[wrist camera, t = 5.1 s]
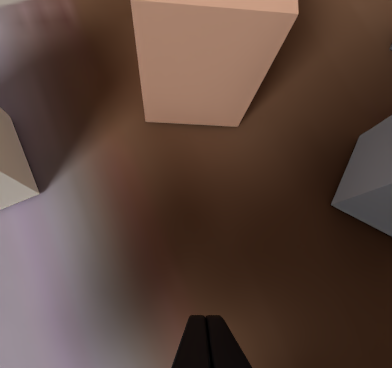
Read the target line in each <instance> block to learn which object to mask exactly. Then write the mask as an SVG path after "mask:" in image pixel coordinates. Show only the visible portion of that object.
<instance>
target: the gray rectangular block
mask: <svg viewBox="0 0 392 368" xmlns="http://www.w3.org/2000/svg"><path fill="white" fill-rule="evenodd" d="M331 205H332V206H334V207H336V208H338V209H340V210H341V211H343V212H345V213H347V214H349V215H351V216H353V217H355V218H357V219H359V220H361V221H363V222H365V223H366V224H368V225H370V226H372V227H374V228H376V229H378V230H380V231H382V232H384V233H386V234H388V235H390V236H391V237H392V115H391V116H389V117H388V118H386V119H385V120H383V121H382V122H380V123H379V124H377V125H376V126H374V127H373V128H371V129H370V130H368V131H366V132H365V133H363V134H362V135H360V136H359V138H358V141H357V143H356V146H355V148H354V150H353V153H352V155H351V158H350V160H349V162H348V165H347V167H346V170H345V172H344V174H343V177H342V179H341V182H340V184H339V186H338V189H337V191H336V194H335V196H334V198H333V201H332V203H331Z"/></svg>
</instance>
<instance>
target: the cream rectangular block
mask: <svg viewBox="0 0 392 368" xmlns="http://www.w3.org/2000/svg"><path fill="white" fill-rule="evenodd" d="M38 194H40V193H39V191H38V188H37V186H36V183H35V180H34V178H33V175H32V172H31V170H30V167H29V165H28V162H27V159H26V157H25V154H24V152H23V149H22V146H21V144H20V141H19V138H18V136H17V133H16V131H15V128H14V125H13V123H12V120H11V117H10V116H9V115H8V114H7V113H6V112H5V111H4V110H3V109H2V108H1V107H0V210H1V209H4V208H6V207H9V206H11V205H14V204H16V203H19V202H21V201H24V200H26V199H29V198H31V197H34V196H36V195H38Z"/></svg>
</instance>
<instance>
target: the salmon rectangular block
mask: <svg viewBox="0 0 392 368" xmlns="http://www.w3.org/2000/svg"><path fill="white" fill-rule="evenodd" d="M131 8H132V16H133V24H134V32H135V40H136V48H137V56H138V64H139V72H140V81H141V89H142V97H143V105H144V113H145V121H146V122H160V123H178V124H196V125H214V126H232V127H238V125H239V124H240V122H241V120H242V118H243V116H244V114H245V112H246V111H247V109H248V107H249V105H250V103H251V101H252V100H253V98H254V96H255V94H256V92H257V90H258V88H259V87H260V85H261V83H262V81H263V79H264V77H265V75H266V74H267V72H268V70H269V68H270V66H271V64H272V62H273V61H274V59H275V57H276V55H277V53H278V51H279V49H280V48H281V46H282V44H283V42H284V40H285V38H286V36H287V35H288V33H289V31H290V29H291V27H292V25H293V24H294V22H295V20H296V18H297V16H298V14H299V11H298V0H131Z"/></svg>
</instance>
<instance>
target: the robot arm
mask: <svg viewBox="0 0 392 368" xmlns="http://www.w3.org/2000/svg"><path fill="white" fill-rule="evenodd" d="M171 368H252V366H251V365H250V363H249V361H248V360H247V358H246V356H245V355H244V353H243V351H242V350H241V348H240V346H239V344H238V343H237V341H236V339H235V338H234V336H233V334H232V333H231V331H230V329H229V328H228V326H227V324H226V323H225V321H224V319H223V318H222V317H221V316H219V315H208V316H206V317H205V316H203V315H191V316H190V317H189V319H188V321H187V324H186V327H185V330H184V333H183V336H182V339H181V342H180V344H179V347H178V350H177V353H176V356H175V359H174V362H173V364H172V367H171Z"/></svg>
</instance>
